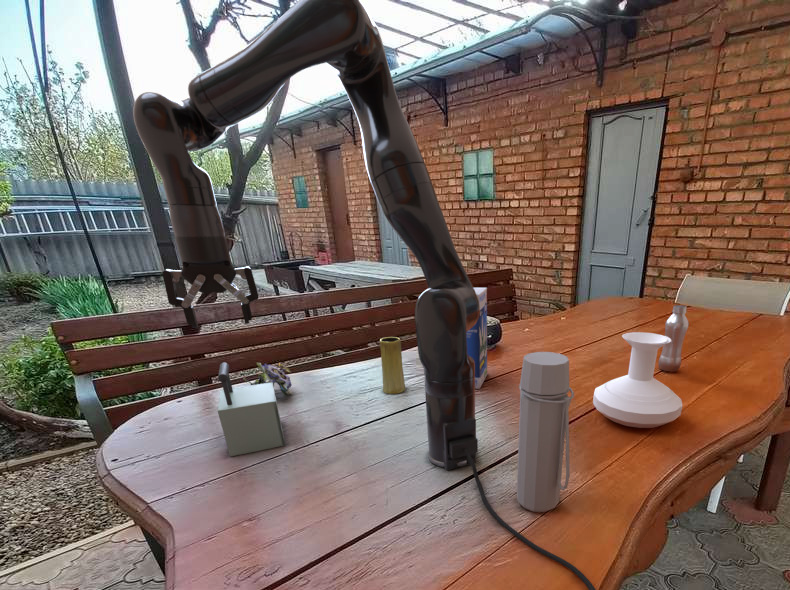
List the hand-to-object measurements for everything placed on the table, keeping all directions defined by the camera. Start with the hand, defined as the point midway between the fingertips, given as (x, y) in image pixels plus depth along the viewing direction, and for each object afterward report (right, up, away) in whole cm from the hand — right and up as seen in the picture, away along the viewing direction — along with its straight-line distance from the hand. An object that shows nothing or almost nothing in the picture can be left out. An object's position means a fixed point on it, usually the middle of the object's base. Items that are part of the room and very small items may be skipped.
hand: (222, 325), depth 81 cm
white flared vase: (+86, -18, +21) cm, 90 cm away
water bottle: (+60, -32, -11) cm, 69 cm away
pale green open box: (+6, -14, +8) cm, 18 cm away
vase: (+25, -12, +36) cm, 45 cm away
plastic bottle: (+107, -5, +52) cm, 119 cm away
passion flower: (-6, -14, +31) cm, 34 cm away
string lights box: (+46, -9, +43) cm, 63 cm away
